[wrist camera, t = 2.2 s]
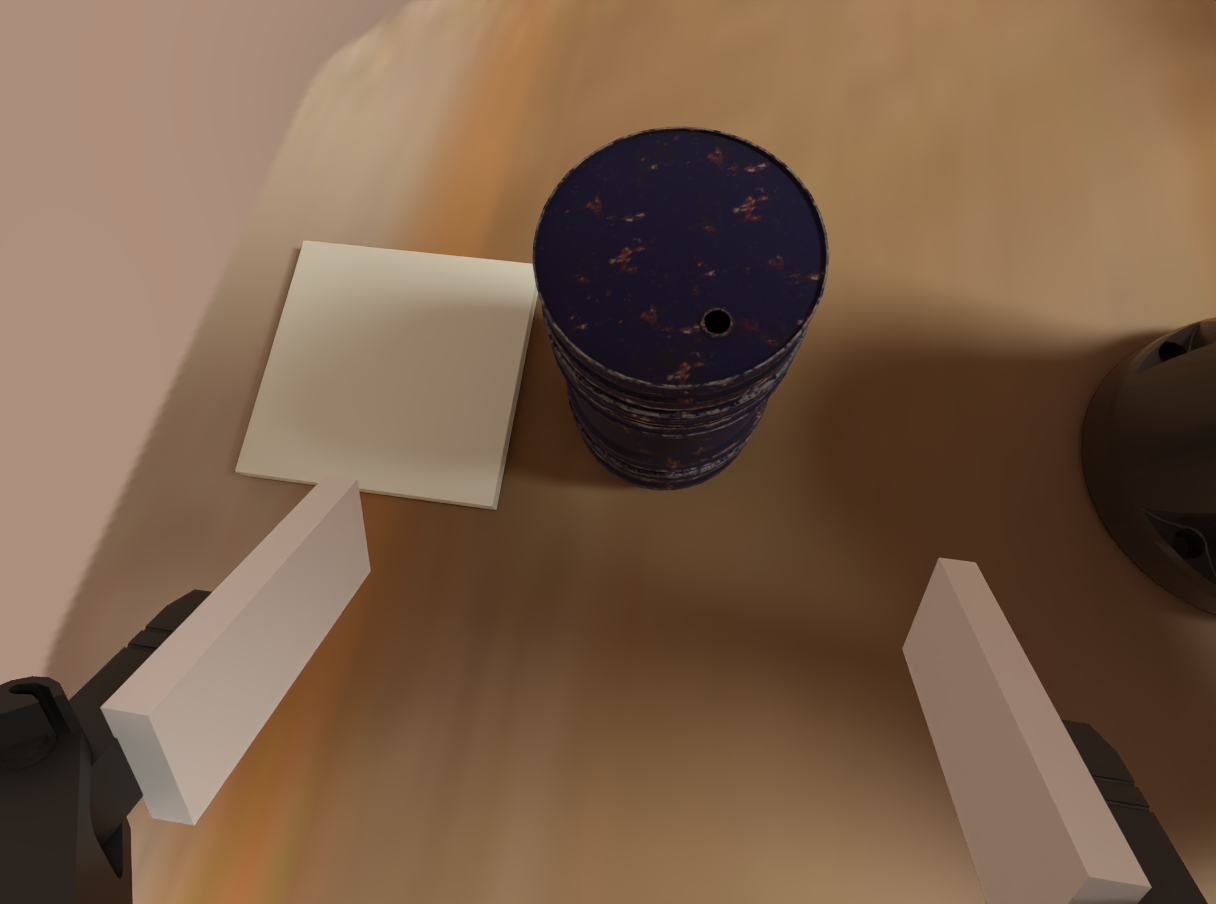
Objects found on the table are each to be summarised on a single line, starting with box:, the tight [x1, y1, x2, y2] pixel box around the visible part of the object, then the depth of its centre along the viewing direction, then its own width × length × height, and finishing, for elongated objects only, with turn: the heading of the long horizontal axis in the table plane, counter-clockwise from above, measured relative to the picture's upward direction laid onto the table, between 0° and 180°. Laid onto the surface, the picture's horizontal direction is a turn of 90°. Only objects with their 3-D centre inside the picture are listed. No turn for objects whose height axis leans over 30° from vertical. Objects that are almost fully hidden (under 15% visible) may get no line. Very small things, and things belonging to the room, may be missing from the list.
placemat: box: [235, 240, 538, 510], centre depth 37 cm, size 14×14×1 cm
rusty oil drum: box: [533, 126, 829, 490], centre depth 29 cm, size 10×10×15 cm
